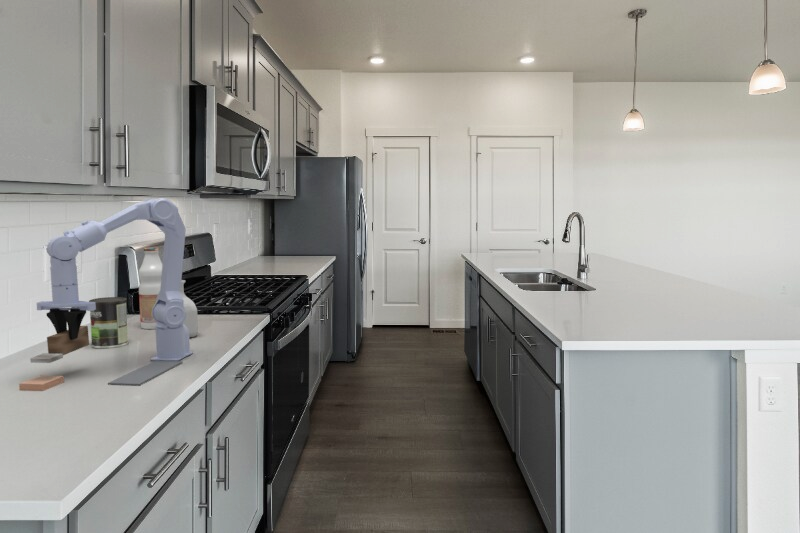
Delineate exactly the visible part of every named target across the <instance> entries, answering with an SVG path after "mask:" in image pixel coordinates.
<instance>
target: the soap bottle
mask: <svg viewBox="0 0 800 533" xmlns="http://www.w3.org/2000/svg"><path fill="white" fill-rule="evenodd" d="M185 283H186V280H185V279H181V291H180V292H181V295H182V297H183V300H184V303H183V306H184V309H185V312H186V318H185V320H184V322H183V324H184V325H185V326H186V327H187V328H188V330H189V338H194V337H196V336H197V335H198V334H199V323H198V308H197V306H196V304H195V302H194V301H193V300H192V299H191V298H190V297H188V296H187V295H186V294H185V292H184V290H185V288H184V284H185Z"/></svg>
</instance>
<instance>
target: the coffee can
mask: <svg viewBox="0 0 800 533" xmlns="http://www.w3.org/2000/svg"><path fill="white" fill-rule="evenodd" d="M88 302H95V304H96V310H92V311H89V316H90V335H91V336H90V337H91V348H94V349H115V348H121V347H124V346H126V345H128V344H129V340H128V337H129V336H128V334H129V333H128V317H127V316H128V313H127V310H128V309H127V297H123V296H122V297H121V296H110V297H109V296H108V297H107V296H106V297H98V298H93V299H90V300H88Z"/></svg>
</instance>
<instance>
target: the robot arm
mask: <svg viewBox="0 0 800 533" xmlns="http://www.w3.org/2000/svg"><path fill="white" fill-rule="evenodd" d="M136 220H137V221H138V220H140V221H141V220H143V221H144V220H146V221H147V222H150V223H151V224H153V225H155V226H157V228H158V230H161V232H162V233H163V234H164V244H163V253H162V254H163V255H162V264H163V265H162V276H161V288H160V292H159V294H158V295H157V300H156V303H155V305H154V307H153V309H152V316H153V318H154V319H155V320H156V321H157V323H156V325H155V327H156V329H155V344H156V348H155V349H156V355H155V356H153V357H152V358H150V361H180V360H182V359H184V358H187V357H188V356H190V355H192V354H193V351H191V350H190V349H191V346H190V345H191V344H190V337H189V330H188V328H187V327H186V326H185V325H184V324H183V322H184V320H185V318H186V312H185V309H184V306H183V303H184V300H183V297H182V295H181V292H180V291H181V280H183V279H182V278H183V277H182V276H183V265H184V264H183V263H184V252H185V243H186V242H185V241H186V226H185V224H184V222H183V220H182V217H181V215H180V213H179V207H178V206H177V205H175V204H174V203H173V202H172V201H171V200H170V199H168V198H165V197H159V198H147V199H145V200H144V201H139V202H137V203H134V204H132V205H130V206H127V207H126V208H124V209H123V210H120V211H118V212H116V213H115V214H112V215H111V216H109V217H107V218H105V219H104V220H101V221H95V220H90V221H88V220H84V221H82V222H81V225H80V226H78V227H74V229H71V230H65V231H62V232H63V235H62V236H54V237H53V238H52V239H50V240H49V242H48V244H47V247H46V248H45V250H46V253H47V254H48V256H49V258H50V260H49V261H50V268H49V269H50V282H51V284H50V285H51V295H52V296H51V297H52V301H51V300H50V301H39V302H36V310H37V311H43V310H44V311H45V310H46V311H48V312H46V317H47V318H48V319H49V321H50V322H51V323H52V325H53V327H54V329H55V331H56V334H57V333H60V332H63V331H66V330H69V338H70V340H73V339H76V338H78V333H79V328H80V326H82V322H83V320H84V318H85V316H86V314H87V311H88V312H90V311H92V310H96V304H95V302H89V301H87V300H86V301H84V300H80V299H79V283H78V282H79V280H78V270H77V269H78V268H77V261H76V258H77V256H78V254H79V253H82V252H83V251H86V250H88V249H90V248H92V247H93V246H94V247H95V246H96V245H98V244H99V243H102V242H103V241H105V240H106V238H107V235H108V233H110V232H113V231H115V230H117V229H119V228H121V227H123V226H125V225H127V224H130V223H133V222H134V221H136Z"/></svg>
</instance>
